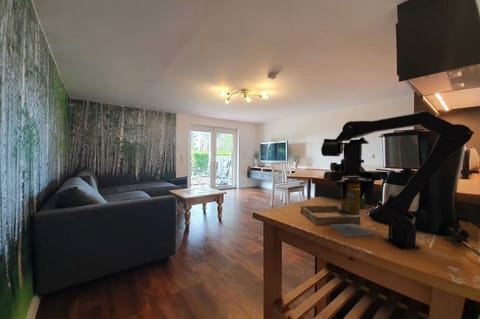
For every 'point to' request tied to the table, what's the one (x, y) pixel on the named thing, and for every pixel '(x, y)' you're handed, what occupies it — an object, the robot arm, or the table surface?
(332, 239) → the table surface
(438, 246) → the table surface
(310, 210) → the wooden tray
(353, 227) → the rubber mat
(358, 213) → the condiment
